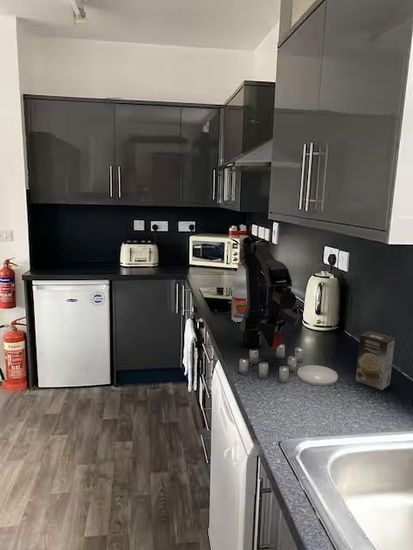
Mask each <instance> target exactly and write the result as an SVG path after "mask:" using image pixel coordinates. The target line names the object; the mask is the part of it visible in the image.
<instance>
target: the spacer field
mask: <svg viewBox="0 0 413 550" xmlns="http://www.w3.org/2000/svg"><path fill="white" fill-rule="evenodd" d="M285 349H286V345H285V344H282V343H281V344H280V346H278V347H277V348H276V352H275V353H276V354H275V355H276V356H275V357H276V358H277V359H280V360H281V359H285V353H286V352H285ZM294 350H295V351H294V356H293V355H290V356H287V366H285V365H283V366H279V368H278V369H279V374H278V382H279V383H281V384H287V383H289V374H290V373H295V372H296V371H297V363H302V362H304V351H305V349H304V348H303V347H300V346H299V347H295V348H294ZM258 362H259V350H258V349H257V348H251V349H249V358H245V357H242V358H240V359H239V367H238V368H239V370H238V371H239V372H240V373H241V375H248V374H249V364H251V365H257V364H258V378H260V379H268V378H269V363H268V362H264V361H261V362H259V363H258ZM240 373H239V374H240ZM247 373H248V374H247Z"/></svg>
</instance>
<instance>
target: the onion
mask: <svg viewBox="0 0 413 550" xmlns="http://www.w3.org/2000/svg"><path fill="white" fill-rule="evenodd" d="M282 340H283V337H282V335H281V332H280V333H279V332H276V333H275V335H274V340H273V345H272V347H269V348H270V349H271V350H275V349H277V347H278V346H280V344H282V342H283V341H282ZM264 341H265V344H266V345H267V346H268V344H267V342H266V339H265V338H264Z"/></svg>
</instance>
